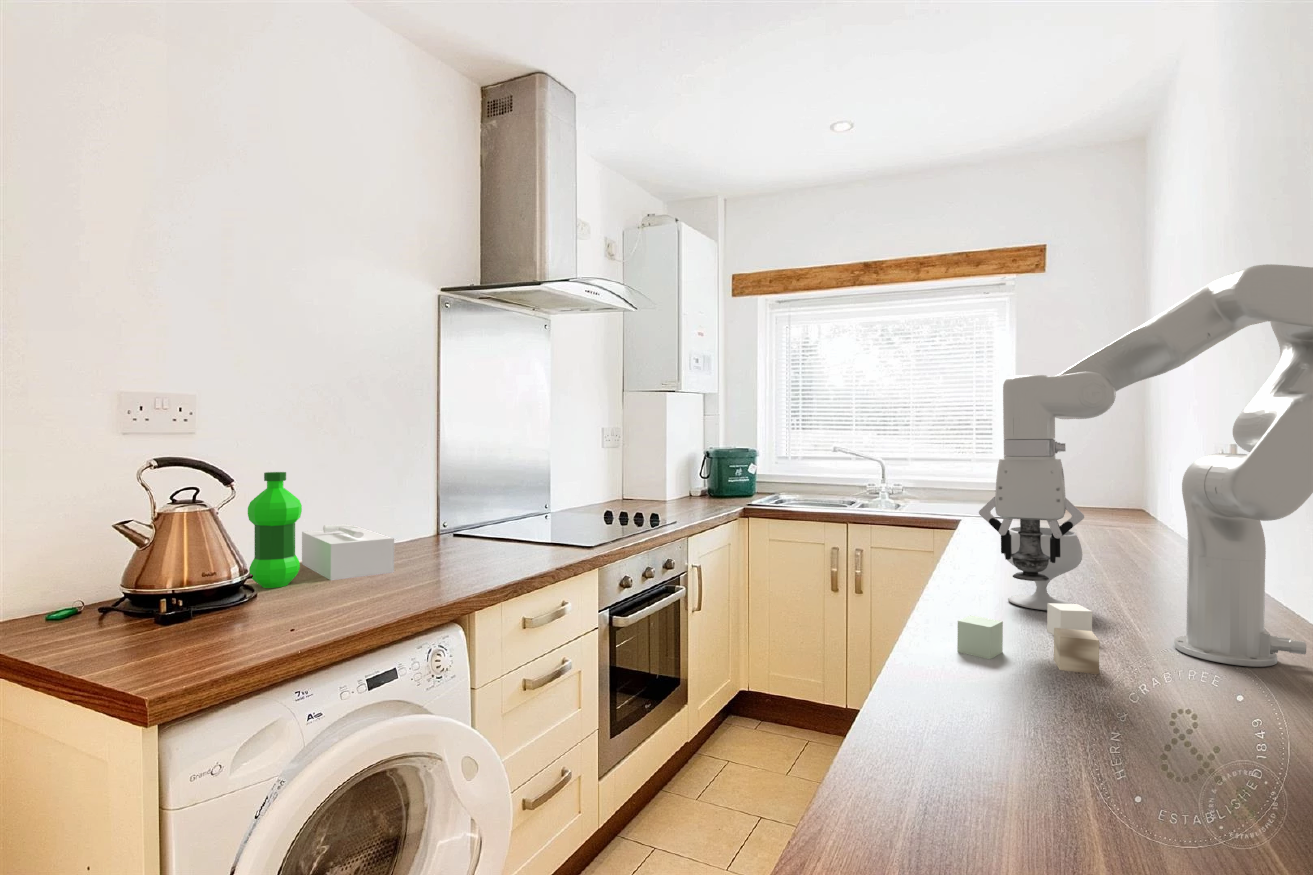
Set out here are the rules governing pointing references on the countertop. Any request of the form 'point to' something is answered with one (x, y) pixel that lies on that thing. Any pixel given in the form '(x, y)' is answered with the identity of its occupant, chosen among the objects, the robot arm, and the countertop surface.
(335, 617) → the countertop surface
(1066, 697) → the countertop surface
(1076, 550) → the chalice
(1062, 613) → the cream painted cube
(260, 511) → the plastic bottle
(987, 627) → the sage painted cube
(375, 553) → the tissue box
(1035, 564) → the salt shaker
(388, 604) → the countertop surface
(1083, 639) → the beech cube
